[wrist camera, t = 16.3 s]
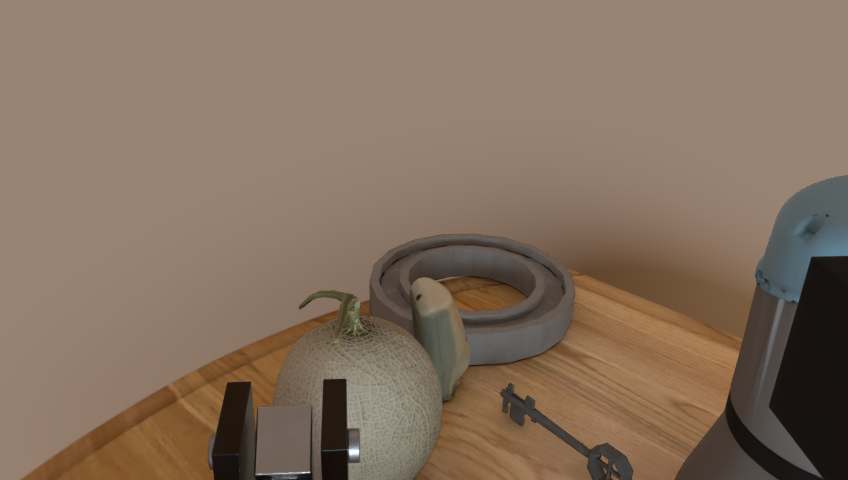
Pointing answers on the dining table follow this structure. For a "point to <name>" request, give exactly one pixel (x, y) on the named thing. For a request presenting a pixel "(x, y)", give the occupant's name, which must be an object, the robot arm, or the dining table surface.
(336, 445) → the bracket
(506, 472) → the dining table surface
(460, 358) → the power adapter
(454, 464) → the dining table surface
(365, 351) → the fruit
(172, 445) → the dining table surface
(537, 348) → the mechanical component
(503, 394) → the key
